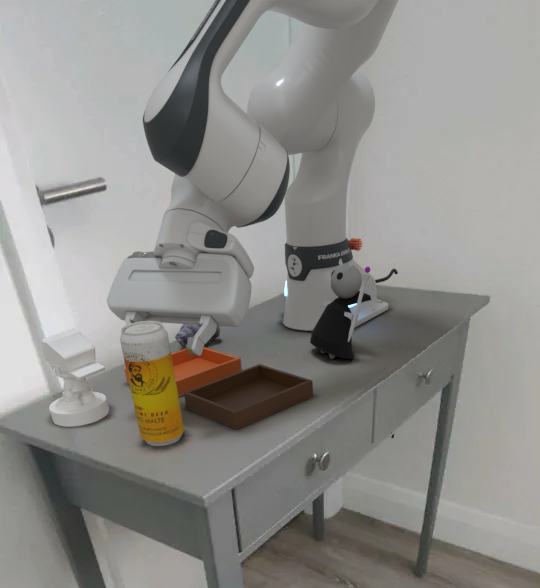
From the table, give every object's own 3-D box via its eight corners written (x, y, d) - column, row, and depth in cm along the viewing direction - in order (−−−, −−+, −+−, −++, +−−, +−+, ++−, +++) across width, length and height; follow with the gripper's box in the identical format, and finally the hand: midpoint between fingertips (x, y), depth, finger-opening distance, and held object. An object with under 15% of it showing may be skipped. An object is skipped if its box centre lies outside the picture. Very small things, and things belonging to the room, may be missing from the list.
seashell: (216, 344, 125) (180, 361, 120) (200, 320, 125) (163, 336, 119) (229, 329, 121) (193, 347, 116) (213, 304, 120) (176, 320, 115)
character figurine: (86, 400, 104) (66, 322, 97) (124, 411, 99) (106, 330, 91) (41, 419, 99) (16, 339, 91) (79, 432, 94) (56, 348, 86)
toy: (298, 344, 114) (319, 251, 107) (331, 349, 117) (354, 259, 110) (327, 363, 106) (352, 263, 98) (361, 368, 109) (389, 271, 101)
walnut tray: (260, 379, 105) (259, 363, 104) (313, 396, 98) (312, 380, 96) (186, 408, 98) (183, 392, 96) (236, 429, 91) (234, 412, 89)
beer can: (133, 445, 89) (108, 333, 80) (155, 427, 93) (134, 318, 84) (171, 449, 87) (150, 335, 78) (192, 431, 91) (174, 320, 82)
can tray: (199, 358, 116) (197, 344, 114) (242, 373, 108) (240, 358, 107) (127, 383, 108) (124, 369, 107) (168, 401, 101) (165, 385, 99)
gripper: (112, 237, 87) (85, 334, 86) (246, 236, 79) (217, 343, 78) (138, 266, 92) (113, 357, 92) (265, 268, 85) (239, 367, 84)
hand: (162, 351), depth 85 cm, fingers open, 8 cm apart
